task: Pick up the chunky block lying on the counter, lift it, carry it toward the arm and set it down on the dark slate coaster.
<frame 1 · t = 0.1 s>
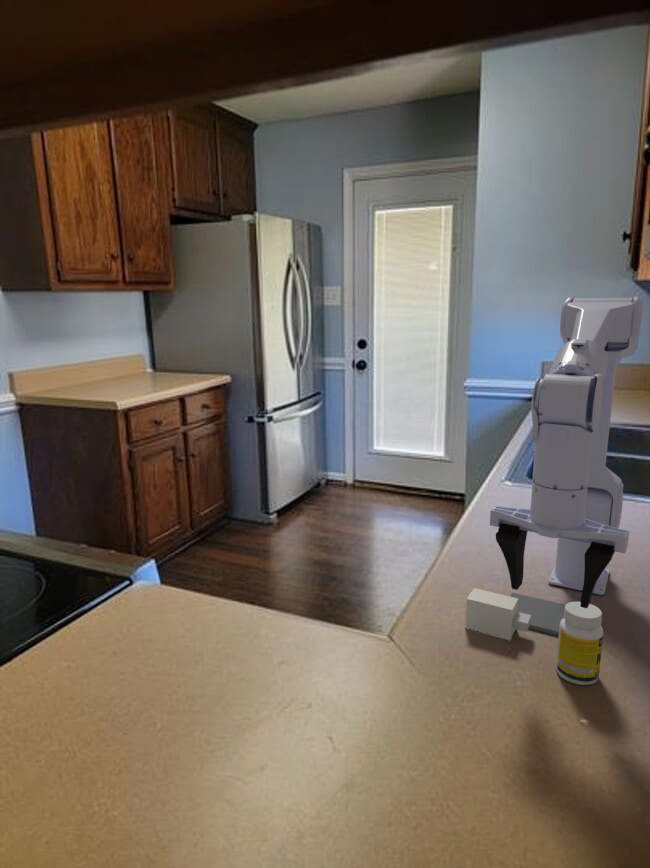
hand: (550, 594, 68), 10 cm above the countertop, tool pointing down, fingers open, 7 cm apart
supplement bottle: (576, 675, 69), on the countertop
coaster: (534, 614, 82), on the countertop
block: (490, 628, 79), on the countertop
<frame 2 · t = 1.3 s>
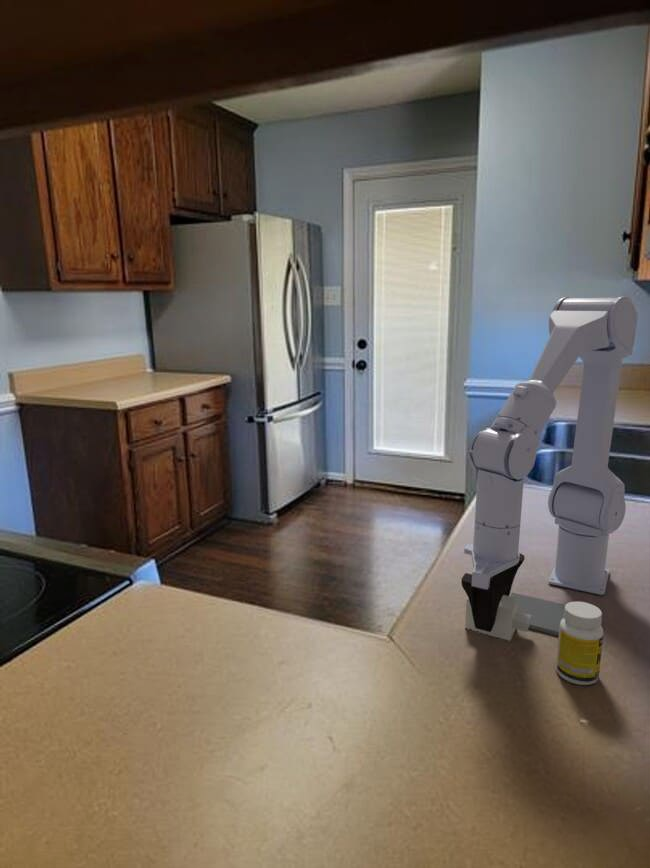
hand: (491, 615, 79), 2 cm above the countertop, tool pointing down, fingers open, 7 cm apart
nothing on the countertop moved.
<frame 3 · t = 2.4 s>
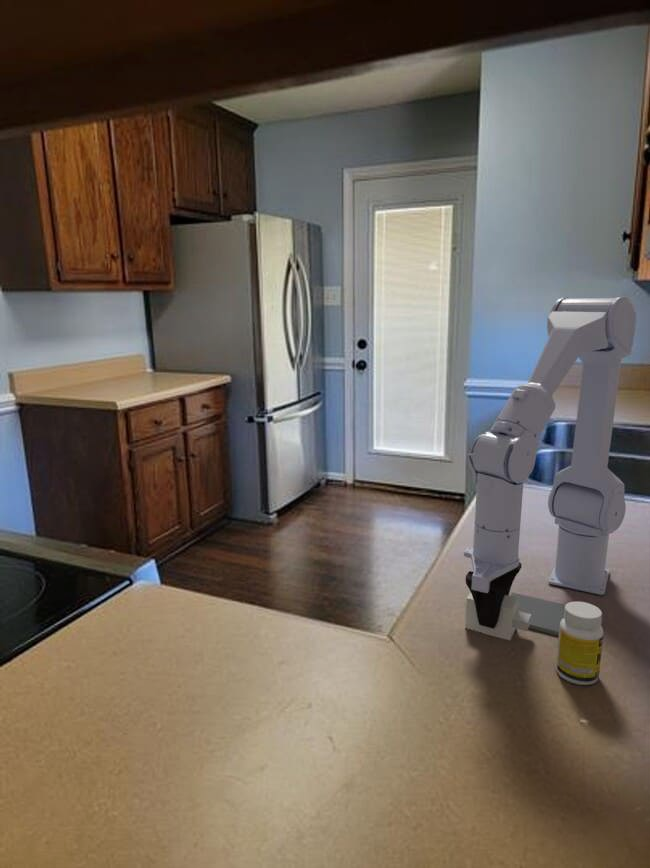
hand: (491, 618, 79), 1 cm above the countertop, tool pointing down, fingers closed on block, 3 cm apart
block: (490, 628, 79), on the countertop, touching gripper
everything else where it was.
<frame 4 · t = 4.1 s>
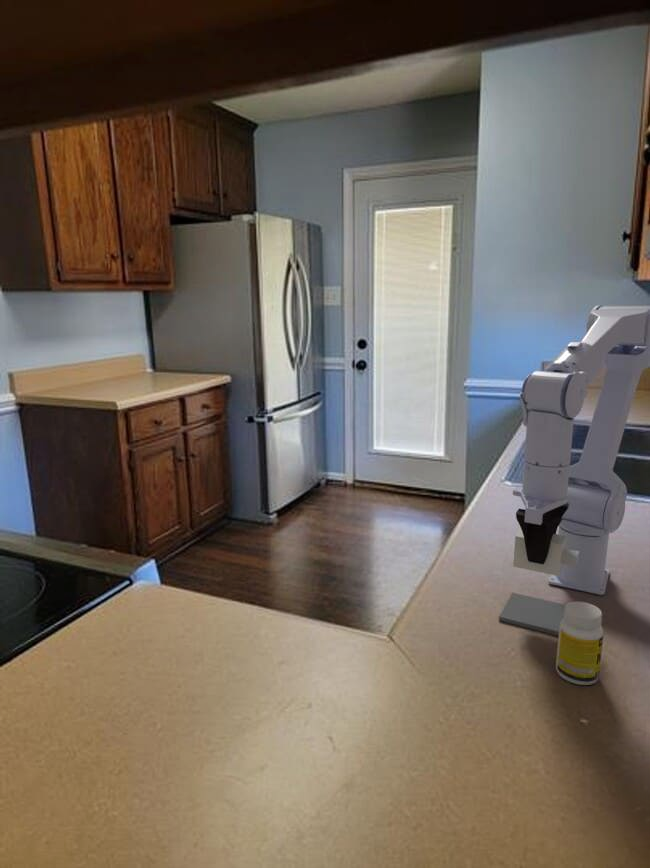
hand: (539, 556, 81), 9 cm above the countertop, tool pointing down, fingers closed on block, 3 cm apart
block: (538, 566, 81), point 7 cm above the countertop, touching gripper
everything else where it was.
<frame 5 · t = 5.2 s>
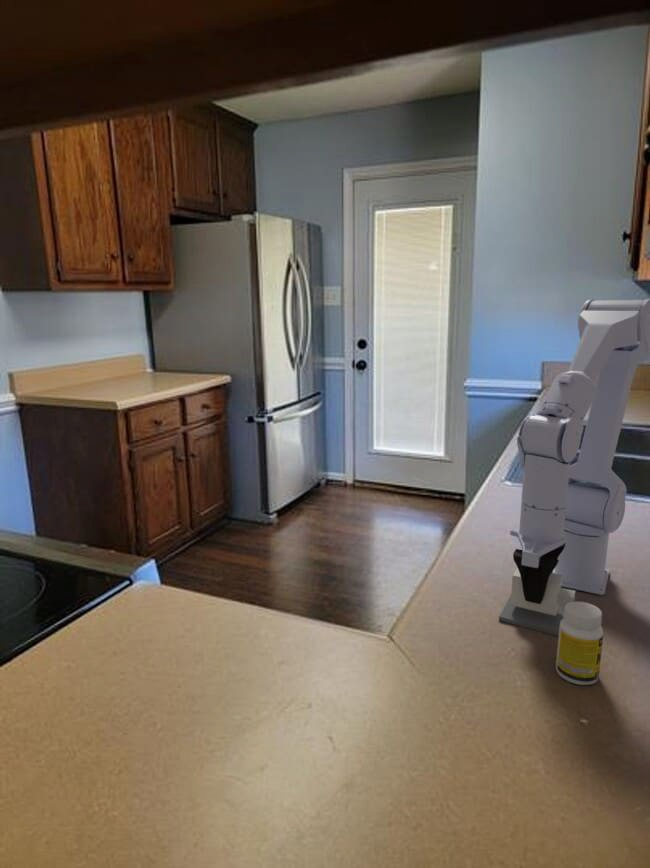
hand: (536, 595, 82), 3 cm above the countertop, tool pointing down, fingers closed on block, 3 cm apart
block: (535, 604, 82), point 2 cm above the countertop, touching gripper
everything else where it was.
when the fingers open (3 cm above the countertop, at t = 5.9 s): block stays where it is, resting on coaster.
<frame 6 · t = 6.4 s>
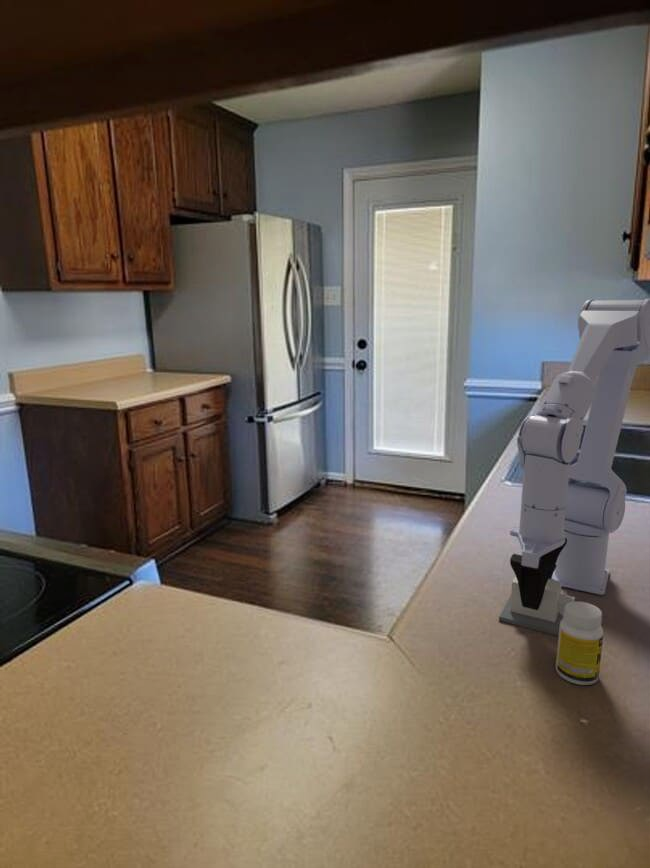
hand: (536, 595, 82), 3 cm above the countertop, tool pointing down, fingers open, 7 cm apart
block: (534, 610, 82), point 1 cm above the countertop, touching coaster
everything else where it was.
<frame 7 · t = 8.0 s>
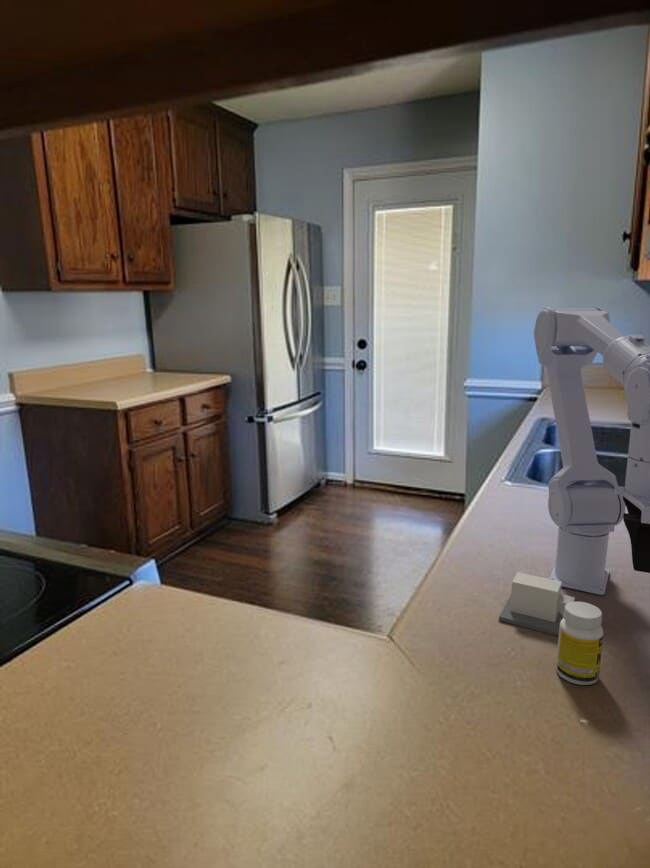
hand: (642, 559, 76), 10 cm above the countertop, tool pointing down, fingers open, 7 cm apart
nothing on the countertop moved.
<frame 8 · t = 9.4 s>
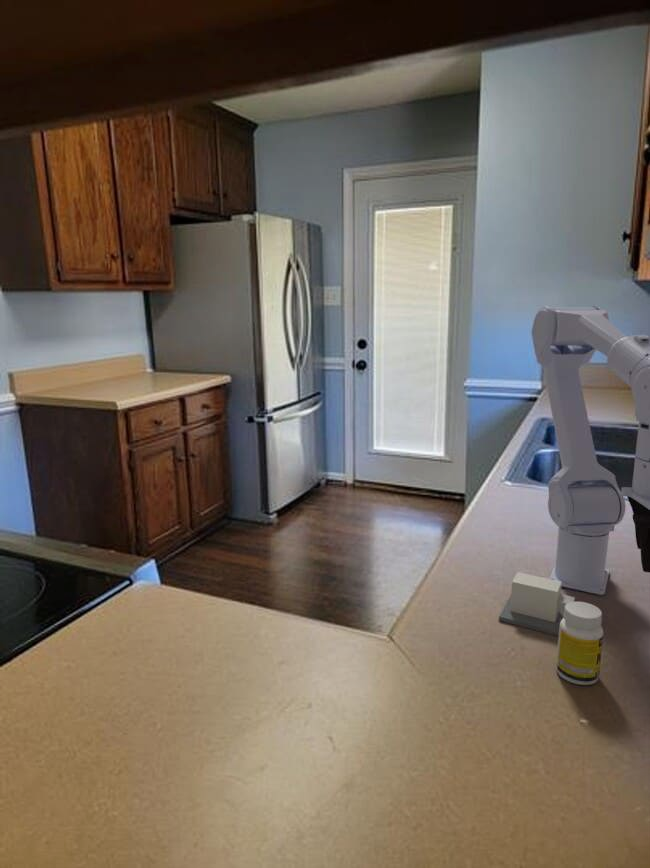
hand: (649, 560, 76), 10 cm above the countertop, tool pointing down, fingers open, 7 cm apart
nothing on the countertop moved.
at the end: block inside the target area on the coaster (0.0 cm from its centre), point 0.6 cm above the coaster's base; block tilted 0°; the gripper is holding nothing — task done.
